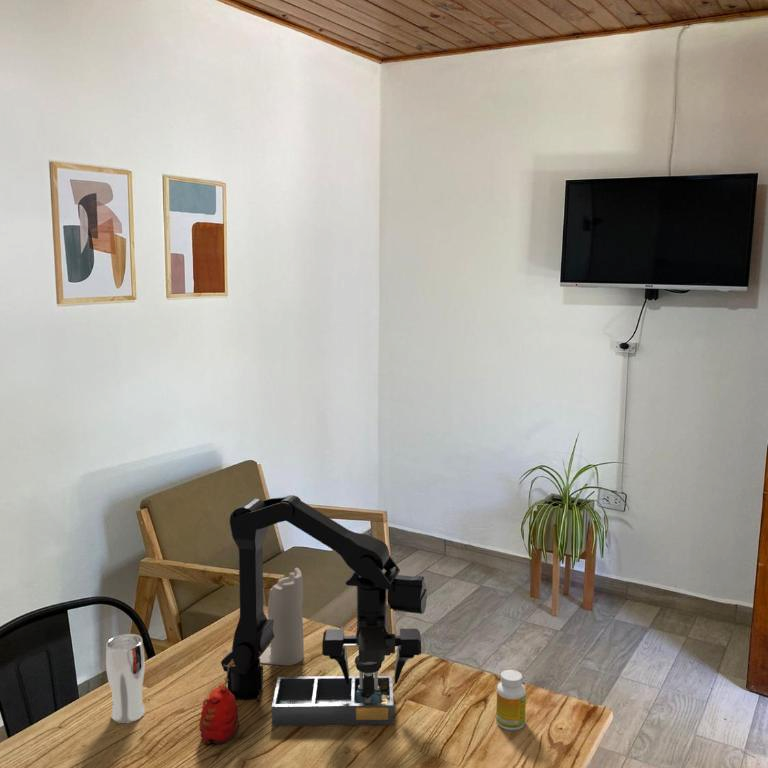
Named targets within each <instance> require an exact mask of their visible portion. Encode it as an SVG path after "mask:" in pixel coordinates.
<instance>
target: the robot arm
mask: <svg viewBox="0 0 768 768" xmlns="http://www.w3.org/2000/svg"><path fill="white" fill-rule="evenodd" d="M282 522H287V523H289V524H290V525H292V526H294V527H296V528H297V529H298V530H300V531H301V532H303V533H305V534H307V535H308V536H310V537H312V538H313V539H315V540H317V541H318V542H320V543H321V544H323V545H324V546H326V547H328V548H330V549H331V550H333V551H334V552H336V554H338V555H339V556H340V557H341V559H342V560H343V561H344V563H345V564H346V566H348V567H349V568H350V569H351V570H352V571H353V573H352V574H351V575H350V576H349V577H348V579H347V580H346V581H345V585H346V586H351V587H356V631H355V632H356V633H355V635H345V629H344V628H338V629H337V628H336V629H335V628H334V629H333V628H331V629H330V628H329V629H328V628H326V629H325V630H324V632H323V634H322V635H323V636H322V642H321V647H322V648H321V652H322V653H321V655H322V656H325V657H328V658H329V659H331V660H335V661H336V662H337V663H338V665H339V667H340V669H341V671H342V674H343V675H342V676H344V678H345V680H346V683H347V684H349V676H350V670H349V669H350V668H349V660H348V653H347V648H348V647H349V648H350V647H353V648H354V647H355V648H357V647H358V655H359V661H360V662H362V663H367V662H377V663H381V662H382V663H383V662H385V659H386V656H391V654H396V656H395V657H396V658H395V667H394V684H395V685H397V684H398V682H399V680H400V676H401V673H402V671H403V668H404V666H405V664H406V662H407V661H408V660H409V659H414V658H415V656H419V655H421V654H422V638H421V631H419V629H418V628H399V635H396V634H395V633H389V632H388V630H387V627H388V626H387V625H388V624H387V623H388V622H387V621H388V620H387V619H388V618H387V616H388V615H387V613H388V612H387V608H388V607H387V606H389V610H393V612H401V613H402V612H404V613H409V614H410V613H412V614H417V615H418V614H420V615H424V614H425V611H426V608H427V598H428V589H427V587H426V582H425V576H423V575H415V576H413V575H402V574H400V572H401V569H400V567H399V566H398V565H397V563H395V562H396V561H394V560H393V558H392V557H391V555H390V550H389V546H388V545H387V544H386V543H385V542H384V541H382V540H381V539H379V538H376V537H374V536H371V535H368V534H365V533H360V532H355V531H352V530H349V529H348V528H347V527H344V526H343V525H341V524H340V523H339V522H336V521H335V520H333V519H332V518H330V517H328V516H327V515H325V514H323V513H322V512H320V511H318V509H316V508H313V507H312V506H310V505H309V504H307V503H306V502H304V501H302V500H301V498H299V497H298V496H297V495H295V494H294V495H286V496H284V497H273V498H269V499H268V498H267V499H264V500H262V499H259V498H251V499H248V500H247V501H245V502H244V503H242V504H241V505H240V506H238V507H237V508H235V510H234V511H232V512H231V513H230V516H229V526H230V532H231V537H232V540H233V542H234V543H235V545H236V546H237V550H238V575H239V576H238V579H239V580H238V581H239V582H238V584H239V585H238V586H239V588H238V589H239V592H238V593H239V619H238V622H237V625H236V628H235V631H234V634H233V641H232V649H231V650H230V651H229V652H228V653H227V654H226V655H225V657H224V658H223V659H222V660H220V664H221V666H222V669H223V671H224V672H225V673H227V672H228V667H226V666H228V664H229V663H230V662H231V661H232V659H234V660H233V661H234V665H236V666H234V667H230V668H229V672H228V682H227V683H226V686H227V689H228V690H229V691H230V692H231V693H232V694H233V695H234V696H235V699H236V700H256V699H257V700H258V699H259V698H260V697H259V696H260V694H261V692H262V691H263V688H264V667H263V665H261V663H260V658H259V657H260V656H261V655H262V654H263V652H264V651H265V650H266V649H267V647H270V646H271V641H272V639H273V638H274V637H275V636H274V633H273V624H274V620H273V619H269V618H267V615H265V613H264V565H263V562H264V560H263V559H264V557H263V556H264V555H263V554H264V552H263V551H264V550H263V547H264V546H263V545H264V542H265V538H266V536H267V533H268V530H269V527H270V526H273V525H276V524H278V523H282ZM383 570H385V572H383ZM396 647H397V649H396ZM223 665H226V666H223Z"/></svg>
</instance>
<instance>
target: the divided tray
mask: <svg viewBox="0 0 768 768" xmlns="http://www.w3.org/2000/svg"><path fill="white" fill-rule="evenodd" d="M363 680H364V675H363ZM358 685H360V675H349V684H347V683H346V680H345V678H344V675H332V676H331V675H330V676H329V675H326V676H325V675H321V676H320V675H318V676H316V675H315V676H313V675H312V676H310V675H308V676H306V675H305V676H277V679H276V684H275V689H274V692H273V693H274V694H273V699H272V702H271V703H272V704H271V727H322V726H323V727H325V726H324V725H346V726H394V710H395V709H394V706H395V705H394V689H393V687H394V686H393V675H378V686H379V688H381V695H386V697H387V696H389V698H381V699H384V700H389V703H387V701H386V702H383V703H356V692H357V689H358ZM376 724H377V725H376ZM386 724H387V725H386Z"/></svg>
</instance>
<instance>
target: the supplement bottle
mask: <svg viewBox="0 0 768 768" xmlns="http://www.w3.org/2000/svg"><path fill="white" fill-rule="evenodd" d="M526 691H527V690H526V687H525V685H524V684H523V675H522V673H521V672H519V671H517V670H514V669H507V670H503V671H501V673H500V682H499V683H498V685H497V687H496V703H495V704H496V710H495V711H496V712H495V715H496V716H495V721H496V724H497V725H498V727H500V728H502V729H503V730H507V731H519V730H520V729H522V728H523V727H524V726H525V724H526V703H527V701H526V700H527V699H526V696H527V695H526V694H527V692H526Z"/></svg>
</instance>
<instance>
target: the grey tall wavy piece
mask: <svg viewBox="0 0 768 768" xmlns="http://www.w3.org/2000/svg"><path fill="white" fill-rule="evenodd" d="M303 591H304V590H303V574H302V571H301V570H300V568H298V567H295V568H294V571H293V572H289V575H288V577H282V578H280V579H278V580H277V583H276V584H274V585H273V586H272V587H271V588H270V589H269V596H268V602H267V617H268V618H267V619H268V620H269V619H273V620H274V624H273V633H274V636H275V637H274V638H273V639H272V641H271V643H270V646H268V647H267V649H266V650H265V651H264V652H263V654H262V655H261V656H260V657H259V658H260V664H262V665H275V666H276V665H277V666H279V665H280V666H293V665H296V664H298V663H301V661H303V660H304V656H305V654H304V653H305V651H304V649H305V648H304V647H305V646H304V645H305V644H304V620H303V619H304V618H303V614H304V613H303V603H304V602H303V600H304V599H303V597H304V595H303V594H304V593H303Z"/></svg>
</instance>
